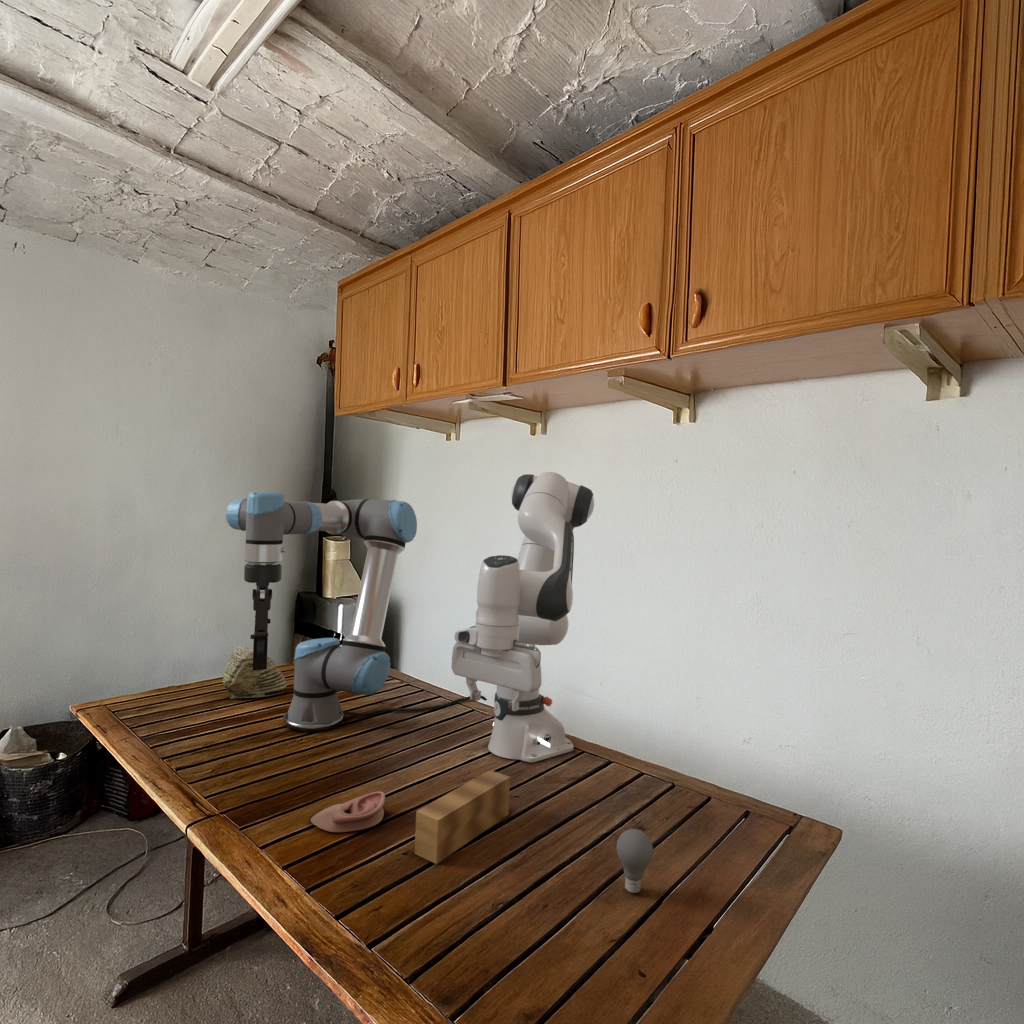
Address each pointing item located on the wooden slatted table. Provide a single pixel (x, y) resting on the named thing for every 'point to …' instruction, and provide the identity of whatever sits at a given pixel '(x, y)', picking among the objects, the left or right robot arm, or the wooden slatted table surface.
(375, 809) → the anatomical model
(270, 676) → the fossil
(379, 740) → the wooden slatted table surface
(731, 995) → the wooden slatted table surface
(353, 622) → the left robot arm
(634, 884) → the light bulb
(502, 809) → the bar
